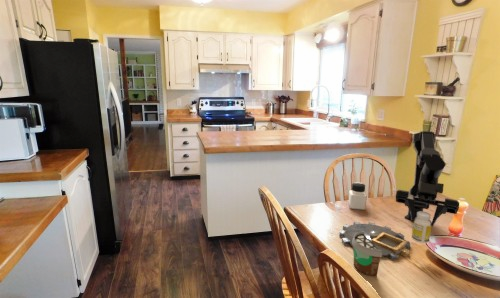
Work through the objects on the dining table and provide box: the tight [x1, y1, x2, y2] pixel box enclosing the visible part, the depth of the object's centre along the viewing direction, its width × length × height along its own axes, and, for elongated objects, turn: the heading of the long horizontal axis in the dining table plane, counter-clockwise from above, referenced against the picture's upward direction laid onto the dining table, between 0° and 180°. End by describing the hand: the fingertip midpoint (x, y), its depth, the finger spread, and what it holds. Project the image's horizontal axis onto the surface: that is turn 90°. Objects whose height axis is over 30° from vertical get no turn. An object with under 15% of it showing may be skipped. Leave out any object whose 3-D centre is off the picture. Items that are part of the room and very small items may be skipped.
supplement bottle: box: [411, 210, 432, 244], centre depth 98 cm, size 5×5×10 cm
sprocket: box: [339, 221, 411, 261], centre depth 110 cm, size 25×25×4 cm
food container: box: [352, 232, 383, 278], centre depth 93 cm, size 12×6×10 cm, turn 5°
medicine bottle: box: [348, 182, 368, 211], centre depth 141 cm, size 7×7×12 cm
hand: (422, 223), depth 97 cm, fingers closed on supplement bottle, 5 cm apart
